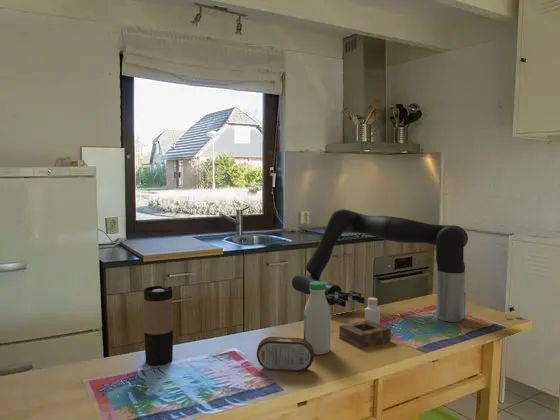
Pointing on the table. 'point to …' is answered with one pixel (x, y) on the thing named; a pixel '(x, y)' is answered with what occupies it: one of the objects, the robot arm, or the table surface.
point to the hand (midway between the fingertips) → (354, 302)
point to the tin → (285, 354)
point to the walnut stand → (364, 333)
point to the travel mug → (158, 325)
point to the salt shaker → (372, 311)
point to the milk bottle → (317, 319)
